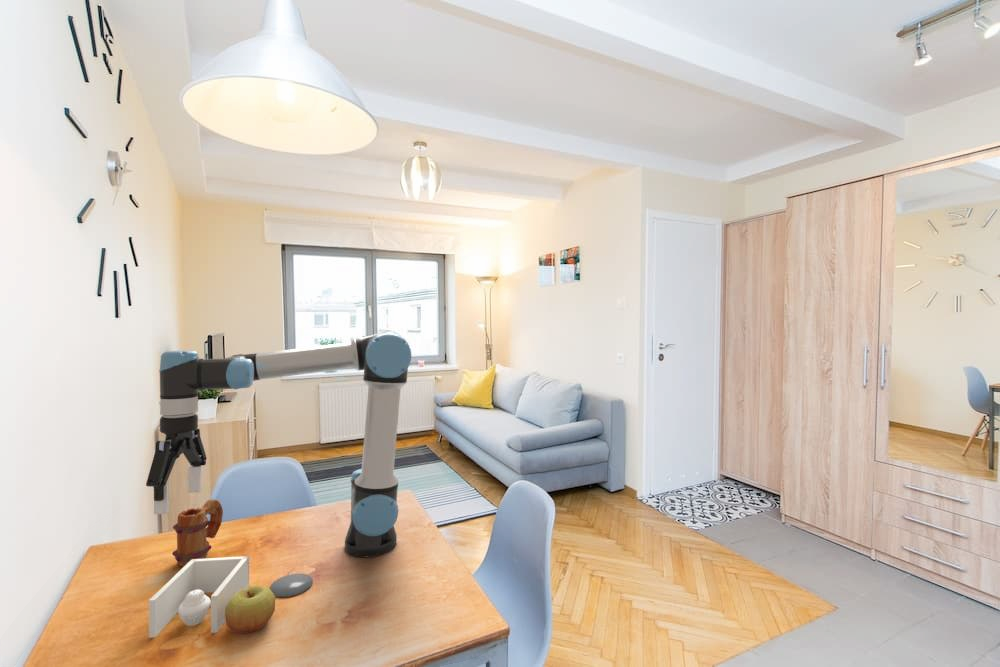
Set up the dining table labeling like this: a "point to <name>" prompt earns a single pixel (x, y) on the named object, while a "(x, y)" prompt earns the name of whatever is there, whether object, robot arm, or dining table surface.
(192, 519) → the mug
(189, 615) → the white rounded ribbed piece
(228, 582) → the cubby
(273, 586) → the coaster
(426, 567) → the dining table surface
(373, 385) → the robot arm
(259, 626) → the apple
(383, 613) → the dining table surface
